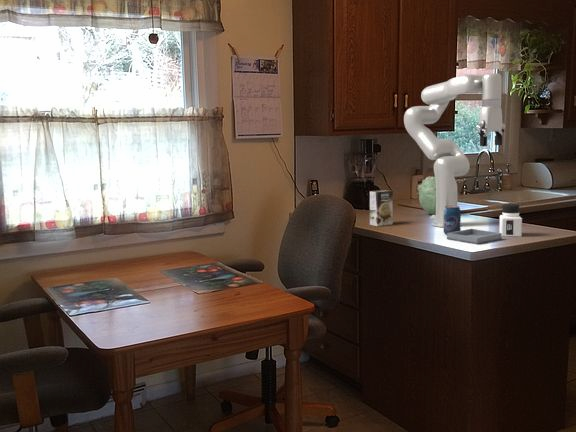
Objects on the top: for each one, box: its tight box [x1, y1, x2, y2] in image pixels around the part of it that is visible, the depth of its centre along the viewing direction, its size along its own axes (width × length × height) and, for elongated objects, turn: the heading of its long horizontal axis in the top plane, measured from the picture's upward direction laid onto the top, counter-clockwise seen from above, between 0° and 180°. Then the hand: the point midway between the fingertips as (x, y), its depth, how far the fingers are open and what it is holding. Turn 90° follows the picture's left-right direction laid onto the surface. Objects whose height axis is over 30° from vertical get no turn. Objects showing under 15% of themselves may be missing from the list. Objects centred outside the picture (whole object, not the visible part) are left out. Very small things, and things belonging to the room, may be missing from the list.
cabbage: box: [417, 175, 436, 216], centre depth 313 cm, size 16×19×20 cm
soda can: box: [443, 205, 462, 236], centre depth 259 cm, size 7×7×12 cm
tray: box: [446, 228, 503, 245], centre depth 247 cm, size 15×15×2 cm
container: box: [498, 202, 523, 237], centre depth 253 cm, size 8×8×13 cm
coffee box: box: [369, 189, 394, 227], centre depth 289 cm, size 9×6×16 cm
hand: (490, 145), depth 257 cm, fingers open, 9 cm apart
